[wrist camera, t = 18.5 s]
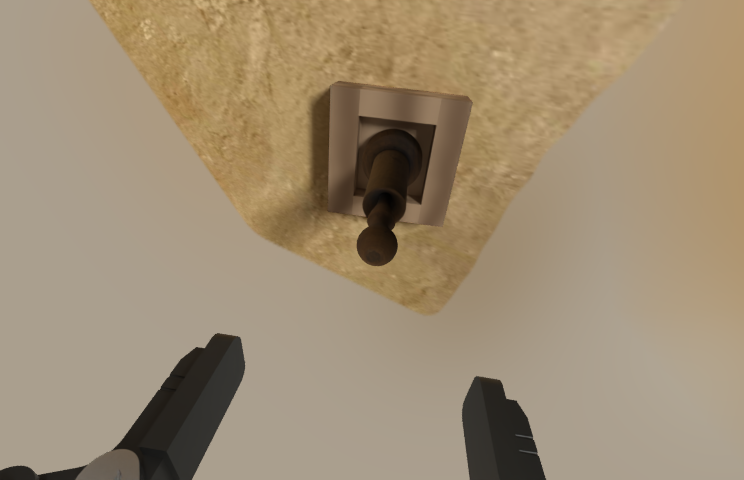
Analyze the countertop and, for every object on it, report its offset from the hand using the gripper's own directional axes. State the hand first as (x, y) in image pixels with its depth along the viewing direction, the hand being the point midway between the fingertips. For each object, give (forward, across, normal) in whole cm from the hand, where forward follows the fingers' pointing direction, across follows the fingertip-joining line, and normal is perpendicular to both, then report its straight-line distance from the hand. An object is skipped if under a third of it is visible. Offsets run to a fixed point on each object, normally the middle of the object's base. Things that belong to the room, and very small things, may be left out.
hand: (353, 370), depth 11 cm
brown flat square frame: (+32, 0, +2) cm, 32 cm away
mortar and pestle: (+30, 0, +2) cm, 30 cm away
